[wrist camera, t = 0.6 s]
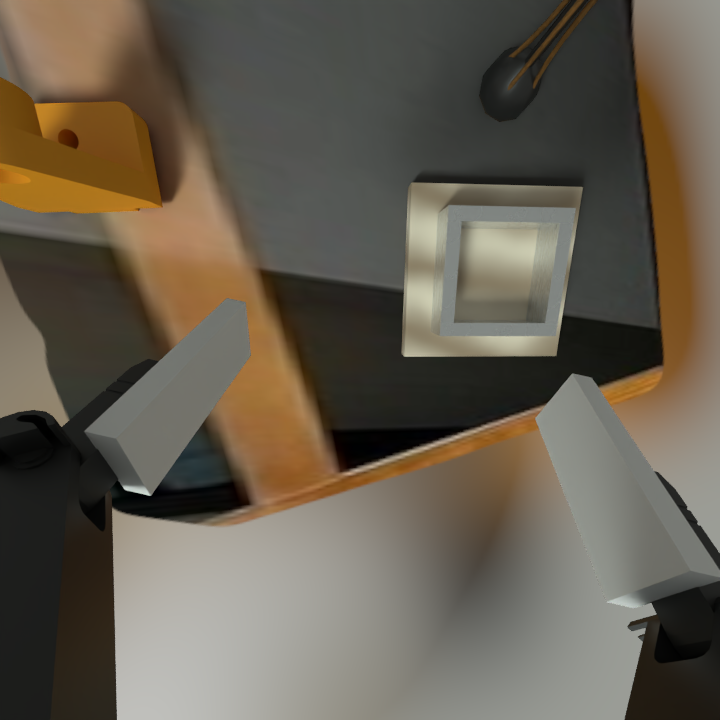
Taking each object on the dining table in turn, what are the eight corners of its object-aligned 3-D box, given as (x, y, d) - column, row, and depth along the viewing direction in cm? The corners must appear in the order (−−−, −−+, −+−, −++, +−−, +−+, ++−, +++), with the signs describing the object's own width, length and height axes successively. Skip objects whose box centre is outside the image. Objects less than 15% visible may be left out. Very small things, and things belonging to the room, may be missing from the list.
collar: (437, 213, 28) (448, 205, 25) (552, 216, 28) (575, 207, 25) (430, 331, 30) (439, 336, 27) (535, 331, 31) (555, 336, 28)
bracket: (151, 119, 26) (-2, -15, 15) (167, 209, 28) (42, 153, 16) (23, 123, 26) (-239, -12, 14) (47, 214, 28) (-169, 160, 16)
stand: (408, 188, 29) (411, 182, 27) (570, 191, 29) (582, 186, 28) (401, 353, 32) (404, 356, 31) (546, 352, 33) (556, 355, 32)
